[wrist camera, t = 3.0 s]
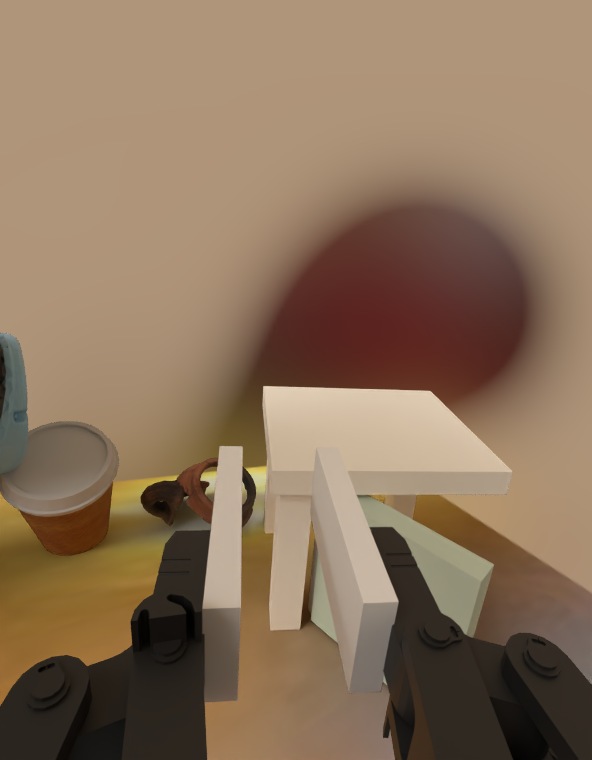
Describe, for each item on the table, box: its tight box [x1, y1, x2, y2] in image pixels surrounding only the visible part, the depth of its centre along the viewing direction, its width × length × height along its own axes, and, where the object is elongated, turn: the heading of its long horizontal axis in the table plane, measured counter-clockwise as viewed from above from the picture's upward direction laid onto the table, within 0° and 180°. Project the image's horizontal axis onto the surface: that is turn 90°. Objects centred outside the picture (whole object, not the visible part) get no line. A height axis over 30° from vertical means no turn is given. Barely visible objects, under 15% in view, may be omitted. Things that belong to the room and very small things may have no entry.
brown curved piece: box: [141, 458, 256, 528], centre depth 48 cm, size 12×9×8 cm
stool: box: [263, 386, 513, 630], centre depth 42 cm, size 18×16×16 cm
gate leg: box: [308, 495, 494, 685], centre depth 33 cm, size 13×2×13 cm, turn 46°
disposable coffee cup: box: [0, 421, 119, 556], centre depth 42 cm, size 10×10×12 cm
